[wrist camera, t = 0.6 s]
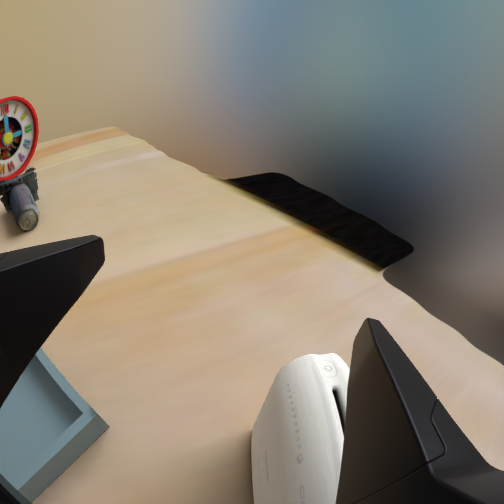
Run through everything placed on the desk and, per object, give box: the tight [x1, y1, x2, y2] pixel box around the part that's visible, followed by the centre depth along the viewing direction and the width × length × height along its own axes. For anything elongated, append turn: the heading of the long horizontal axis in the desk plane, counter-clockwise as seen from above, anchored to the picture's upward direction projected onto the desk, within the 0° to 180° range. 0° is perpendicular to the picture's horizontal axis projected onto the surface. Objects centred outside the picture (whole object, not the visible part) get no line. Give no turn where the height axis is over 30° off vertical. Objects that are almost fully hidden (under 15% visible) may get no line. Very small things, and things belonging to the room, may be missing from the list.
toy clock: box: [0, 96, 39, 181], centre depth 42 cm, size 20×6×20 cm, turn 169°
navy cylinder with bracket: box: [0, 167, 40, 230], centre depth 35 cm, size 9×8×12 cm
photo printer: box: [251, 353, 350, 504], centre depth 12 cm, size 10×4×12 cm, turn 2°
